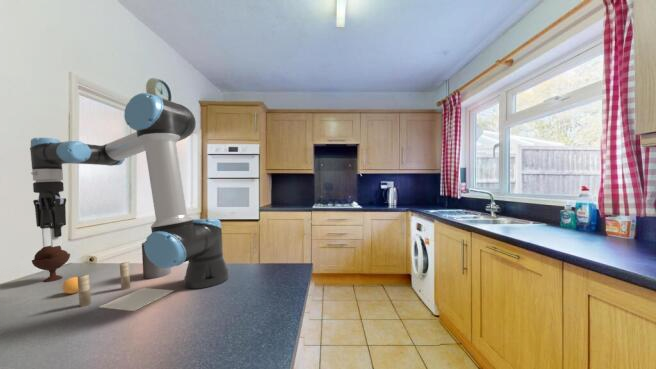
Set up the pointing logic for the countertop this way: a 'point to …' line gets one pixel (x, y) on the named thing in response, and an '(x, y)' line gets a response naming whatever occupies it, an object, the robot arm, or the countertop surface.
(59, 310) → the countertop surface
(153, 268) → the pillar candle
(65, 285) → the ball
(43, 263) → the ice cream bowl
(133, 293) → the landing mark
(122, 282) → the right post
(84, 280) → the left post
